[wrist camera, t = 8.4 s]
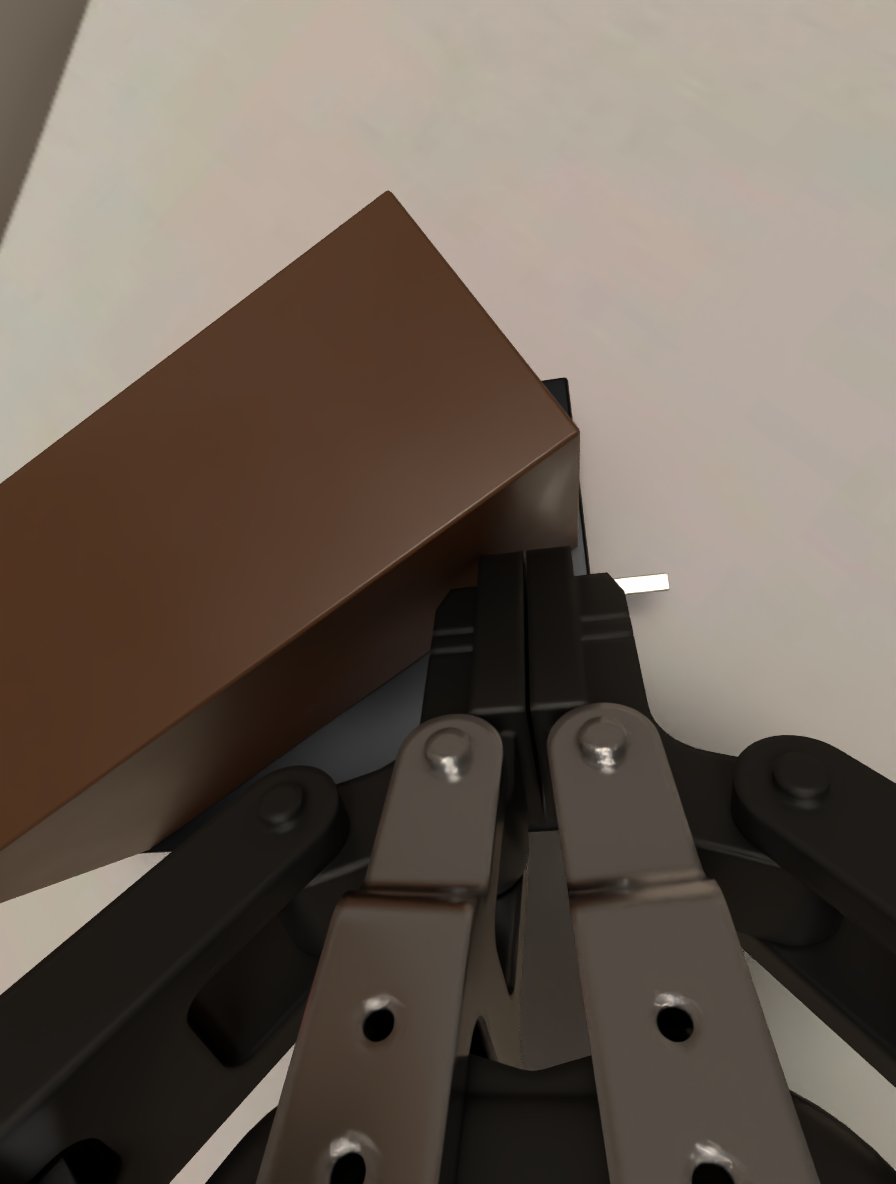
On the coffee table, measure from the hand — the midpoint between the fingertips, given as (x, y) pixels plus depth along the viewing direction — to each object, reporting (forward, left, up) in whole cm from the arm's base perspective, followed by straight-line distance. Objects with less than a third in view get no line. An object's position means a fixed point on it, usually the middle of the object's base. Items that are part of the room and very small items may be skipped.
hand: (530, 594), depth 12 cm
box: (+4, -3, -4) cm, 7 cm away
